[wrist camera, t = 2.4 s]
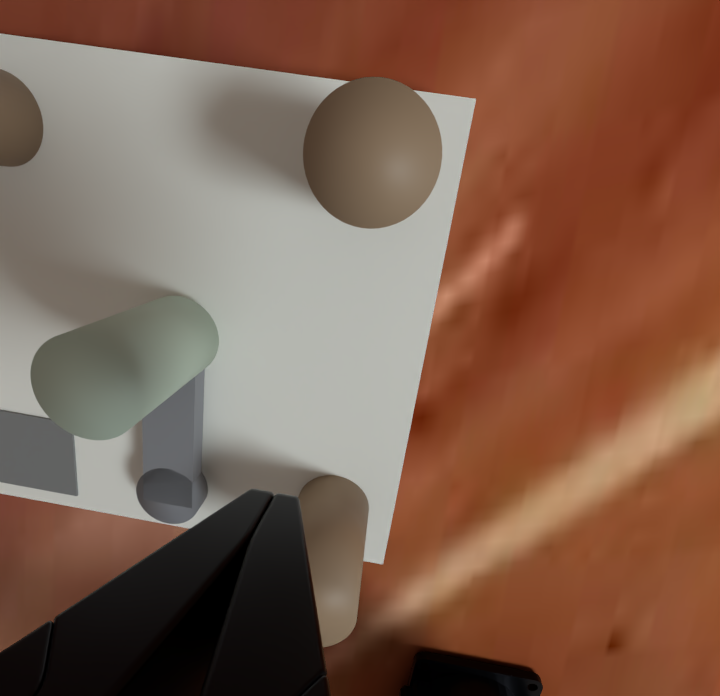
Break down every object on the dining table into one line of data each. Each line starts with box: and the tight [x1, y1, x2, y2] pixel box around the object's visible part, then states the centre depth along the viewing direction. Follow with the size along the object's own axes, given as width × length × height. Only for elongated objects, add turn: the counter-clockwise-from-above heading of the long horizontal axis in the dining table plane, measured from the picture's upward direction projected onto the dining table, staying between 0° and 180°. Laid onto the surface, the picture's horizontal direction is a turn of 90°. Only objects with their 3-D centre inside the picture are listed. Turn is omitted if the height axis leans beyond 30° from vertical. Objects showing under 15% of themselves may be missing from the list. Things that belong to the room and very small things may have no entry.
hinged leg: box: [30, 296, 219, 524], centre depth 15 cm, size 9×3×5 cm, turn 172°
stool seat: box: [0, 34, 476, 647], centre depth 15 cm, size 18×18×7 cm
